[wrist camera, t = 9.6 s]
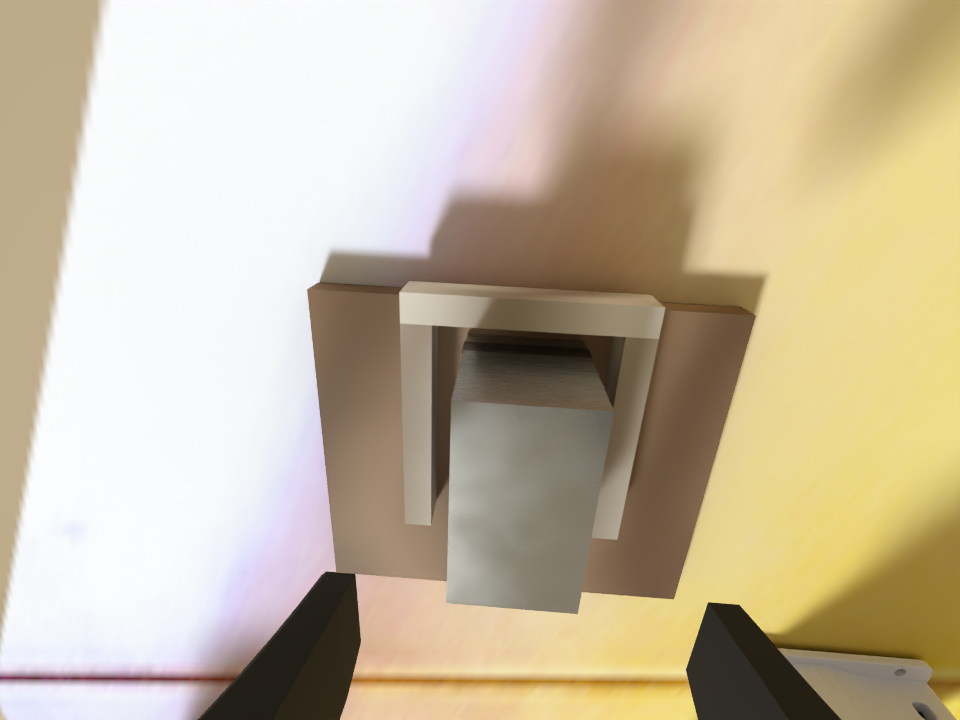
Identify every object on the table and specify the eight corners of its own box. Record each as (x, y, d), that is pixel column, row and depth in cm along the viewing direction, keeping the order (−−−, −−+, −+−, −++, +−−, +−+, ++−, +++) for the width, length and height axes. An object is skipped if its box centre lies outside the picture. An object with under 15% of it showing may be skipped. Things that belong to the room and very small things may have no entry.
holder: (745, 293, 16) (785, 314, 14) (666, 580, 21) (685, 630, 19) (317, 268, 16) (285, 285, 14) (344, 555, 22) (324, 601, 19)
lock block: (585, 340, 16) (616, 411, 11) (561, 503, 19) (579, 613, 14) (466, 332, 16) (449, 400, 11) (460, 495, 19) (444, 602, 14)
